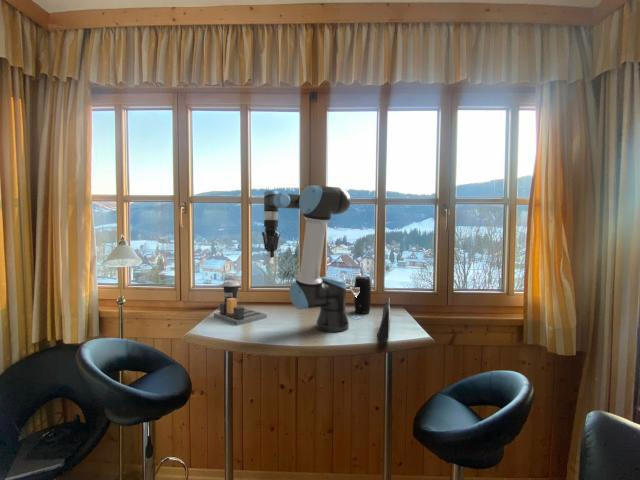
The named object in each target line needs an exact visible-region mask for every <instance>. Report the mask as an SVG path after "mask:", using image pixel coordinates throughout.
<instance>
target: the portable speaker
mask: <svg viewBox="0 0 640 480" xmlns="http://www.w3.org/2000/svg"><path fill="white" fill-rule="evenodd" d="M371 286H372V285H371V277H370V276H360V275H358V276H355V280H354V288H355V287H360V293H359V295H358V296H357V298H356V297H355V295H354V300H353V303H354V312H356V313H355V314H359V313H360V314H362V315H367V313H368V314H369V313H370V311H371V310H370V309H371V301H372V299H371V298H372V287H371Z"/></svg>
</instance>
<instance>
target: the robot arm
mask: <svg viewBox="0 0 640 480" xmlns="http://www.w3.org/2000/svg"><path fill="white" fill-rule="evenodd" d="M351 202H352V201H351V196H350V194H349V192H347V190H346V189H344V188H341V187H337V186H328V185H327V186H324V185H319V184H318V185H317V184H316V185H308V186H306V187H305V188H304V189H302V191H301V193H300V194H293V193H292V194H291V193H286V192H279V191H278V190H265V191H264V194H263V205H264V207H263V219H264V220H263V227H265V229H264V231H262V232H261V235H262V239H263V245H264V250H266V251H267V252H266V253H267V264H274V261H275V259H274V257H275V251H278V245H279V240H280V236H281V232H278V229H277V228H278V227H279V220H278V219H279V209H294V210H295V209H297V210H299V211H300V212H301V213H302V215H303V219H304V220H305V229H304V238H303V245H302V246H303V247H302V253H301V254H302V256H301V263H300V272H299V274H298V275H296V278H295V282H293V283H291V284H290V286H289V290H288V291H289V297H290V298H289V299H290V301H291V303H292V305H293V306H294V308H295V309H297V310H309V309H316V308H320V309H319V310H320V311H319V312H318V317H317V319H316V325H315V327H316V329H317V330H319V331H323V332H328V333H329V332H330V333H337V332H338V333H339V332H344V331H347V330H348V329H349V327H350V326H349V325H350V323H349V320H348V316H347V313H346V293H347V291H346V290H347V287H346V285H347V284H346V281H345V280H344V279H342V278H339V277H338V278H336V277H332V276H320V275H321V268H322V262H323V261H322V260H323V253H324V244H325V235H326V229H327V223H328V222H330V221H331V217H332V215H342V214H343V213H346V212H347V211H348V210H349V208H350V206H351Z"/></svg>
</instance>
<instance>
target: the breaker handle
mask: <svg viewBox="0 0 640 480" xmlns="http://www.w3.org/2000/svg"><path fill="white" fill-rule="evenodd" d="M234 307H238V302H237V299H236V298H228V299H227V315H229V316H234Z"/></svg>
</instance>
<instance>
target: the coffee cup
mask: <svg viewBox="0 0 640 480" xmlns="http://www.w3.org/2000/svg"><path fill="white" fill-rule="evenodd" d="M240 286H241V283H240V281H239V280H235V279H227V280H224V281H223V283H222V287H223V298H224V303H225V302H227V299H228V298H236V299H237V303H238V301H239V290H240Z"/></svg>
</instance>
